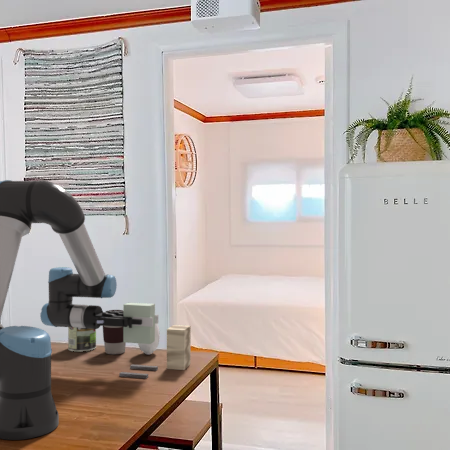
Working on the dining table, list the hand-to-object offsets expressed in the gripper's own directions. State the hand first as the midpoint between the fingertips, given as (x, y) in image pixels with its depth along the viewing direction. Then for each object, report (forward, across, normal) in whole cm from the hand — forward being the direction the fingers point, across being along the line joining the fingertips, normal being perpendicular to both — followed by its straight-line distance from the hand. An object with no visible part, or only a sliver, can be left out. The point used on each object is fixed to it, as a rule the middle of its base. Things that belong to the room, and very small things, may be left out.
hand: (155, 320), depth 171 cm
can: (-37, -23, -17) cm, 47 cm away
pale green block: (-5, 0, -7) cm, 9 cm away
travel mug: (-23, -21, -17) cm, 36 cm away
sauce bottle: (-11, -22, -17) cm, 30 cm away
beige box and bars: (-1, -4, -17) cm, 18 cm away
